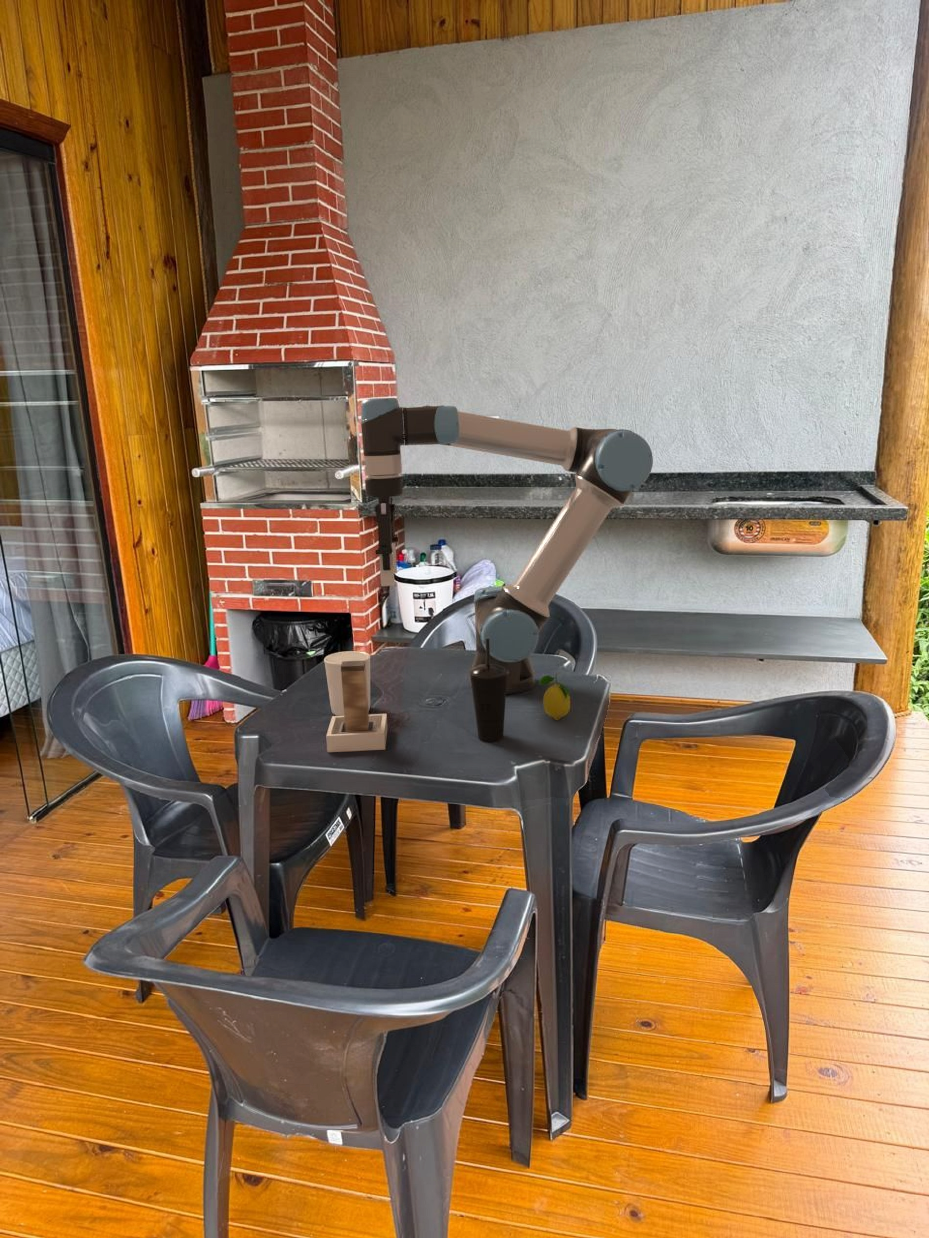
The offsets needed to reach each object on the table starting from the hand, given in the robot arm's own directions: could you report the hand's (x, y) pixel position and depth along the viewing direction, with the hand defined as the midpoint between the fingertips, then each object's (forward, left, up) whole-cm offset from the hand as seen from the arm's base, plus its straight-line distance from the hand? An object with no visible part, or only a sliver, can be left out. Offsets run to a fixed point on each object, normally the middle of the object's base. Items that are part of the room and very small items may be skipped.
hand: (389, 579), depth 184 cm
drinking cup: (-19, +19, -29) cm, 39 cm away
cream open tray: (+7, +17, -29) cm, 34 cm away
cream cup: (+10, -1, -29) cm, 31 cm away
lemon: (-33, +11, -29) cm, 45 cm away
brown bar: (+7, +17, -28) cm, 33 cm away
